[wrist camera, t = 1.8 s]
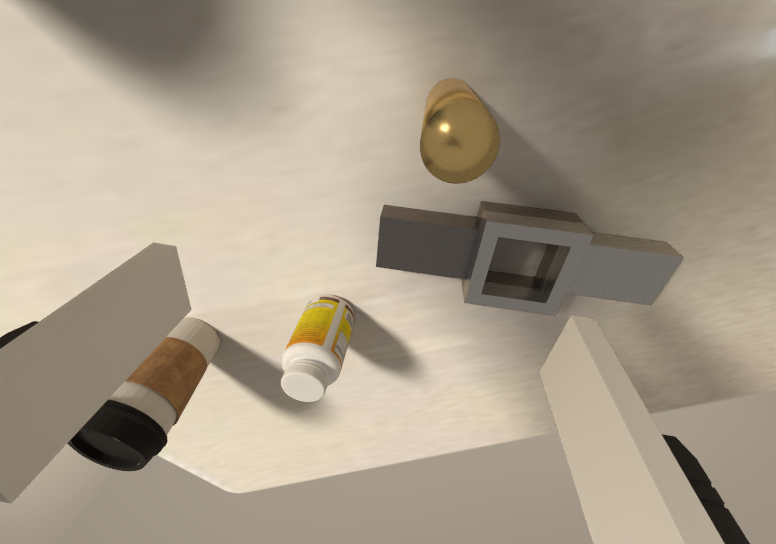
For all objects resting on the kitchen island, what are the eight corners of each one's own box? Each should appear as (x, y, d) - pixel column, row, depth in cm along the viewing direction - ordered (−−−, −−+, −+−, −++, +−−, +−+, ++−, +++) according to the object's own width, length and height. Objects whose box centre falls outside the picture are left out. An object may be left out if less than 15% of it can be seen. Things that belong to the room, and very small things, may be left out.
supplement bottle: (297, 310, 39) (259, 385, 31) (326, 283, 36) (293, 356, 28) (335, 338, 41) (309, 415, 32) (366, 313, 38) (346, 391, 30)
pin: (429, 75, 25) (426, 97, 15) (480, 81, 25) (509, 107, 15) (422, 128, 27) (415, 178, 17) (468, 134, 27) (488, 188, 17)
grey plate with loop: (378, 265, 34) (372, 289, 31) (385, 188, 30) (379, 206, 27) (629, 301, 33) (651, 329, 30) (676, 226, 29) (707, 250, 26)
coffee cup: (230, 319, 41) (140, 440, 29) (231, 365, 46) (154, 486, 33) (159, 301, 41) (38, 415, 28) (167, 349, 45) (66, 465, 33)
